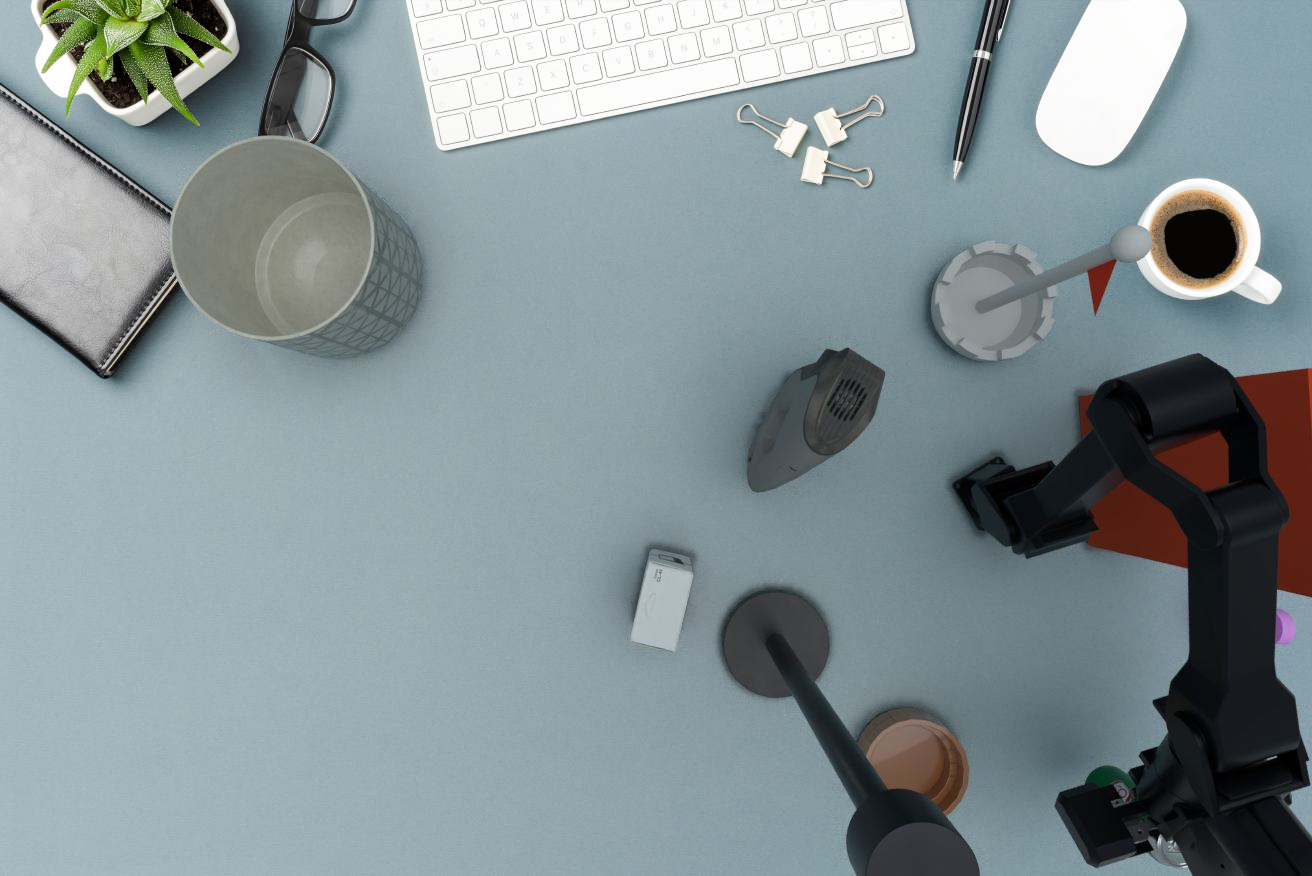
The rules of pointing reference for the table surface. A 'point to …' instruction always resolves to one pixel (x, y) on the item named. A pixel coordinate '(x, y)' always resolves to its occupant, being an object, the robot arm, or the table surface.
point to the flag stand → (1017, 293)
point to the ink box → (662, 600)
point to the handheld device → (814, 417)
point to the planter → (293, 250)
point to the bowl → (917, 756)
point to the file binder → (1225, 482)
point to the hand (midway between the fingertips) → (1146, 829)
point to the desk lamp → (840, 741)
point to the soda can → (1122, 782)
